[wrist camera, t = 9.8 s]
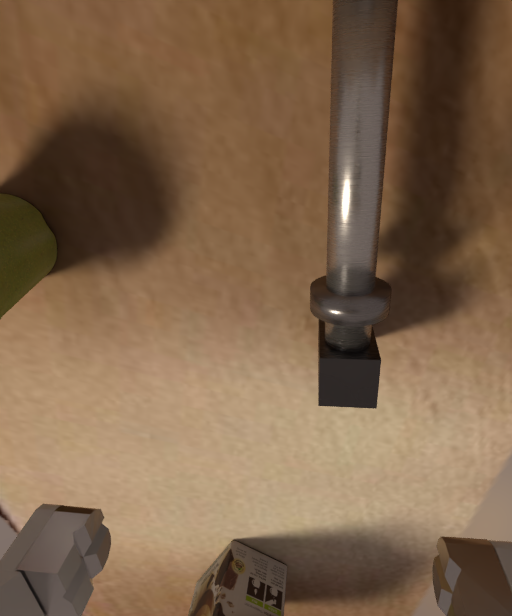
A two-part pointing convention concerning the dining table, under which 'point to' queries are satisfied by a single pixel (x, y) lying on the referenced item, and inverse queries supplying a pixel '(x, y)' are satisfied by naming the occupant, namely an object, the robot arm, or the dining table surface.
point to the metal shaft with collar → (355, 204)
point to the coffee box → (241, 585)
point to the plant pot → (22, 249)
